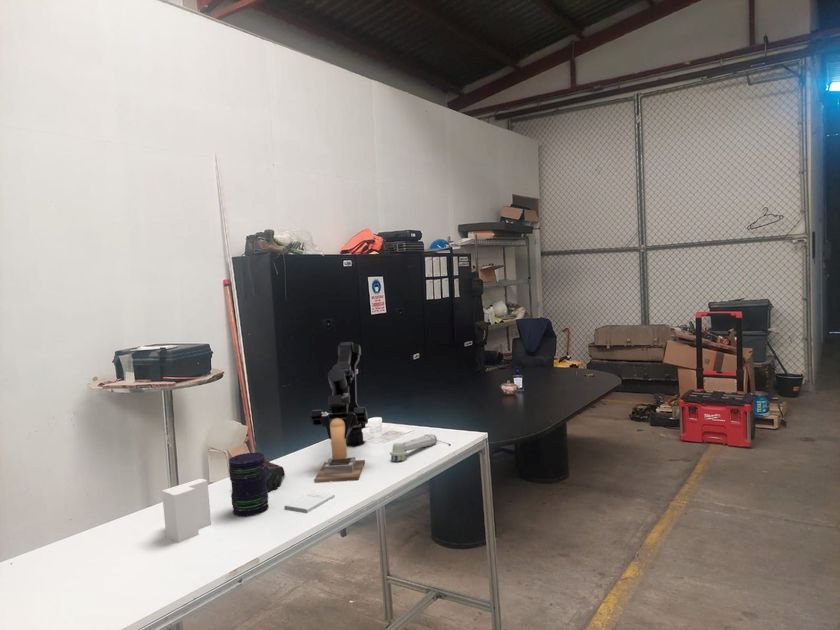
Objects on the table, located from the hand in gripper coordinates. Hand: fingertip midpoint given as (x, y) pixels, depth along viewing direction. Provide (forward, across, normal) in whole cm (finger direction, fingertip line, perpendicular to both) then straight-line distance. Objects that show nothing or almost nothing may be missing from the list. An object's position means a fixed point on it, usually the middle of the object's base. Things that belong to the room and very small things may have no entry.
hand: (337, 438), depth 191 cm
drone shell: (+12, -25, +5) cm, 28 cm away
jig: (+7, 0, +9) cm, 12 cm away
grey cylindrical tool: (-5, +24, +22) cm, 33 cm away
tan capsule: (+4, 0, +6) cm, 7 cm away
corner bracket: (+36, -34, -20) cm, 54 cm away
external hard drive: (+27, -5, -9) cm, 29 cm away
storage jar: (+28, -21, -12) cm, 37 cm away
